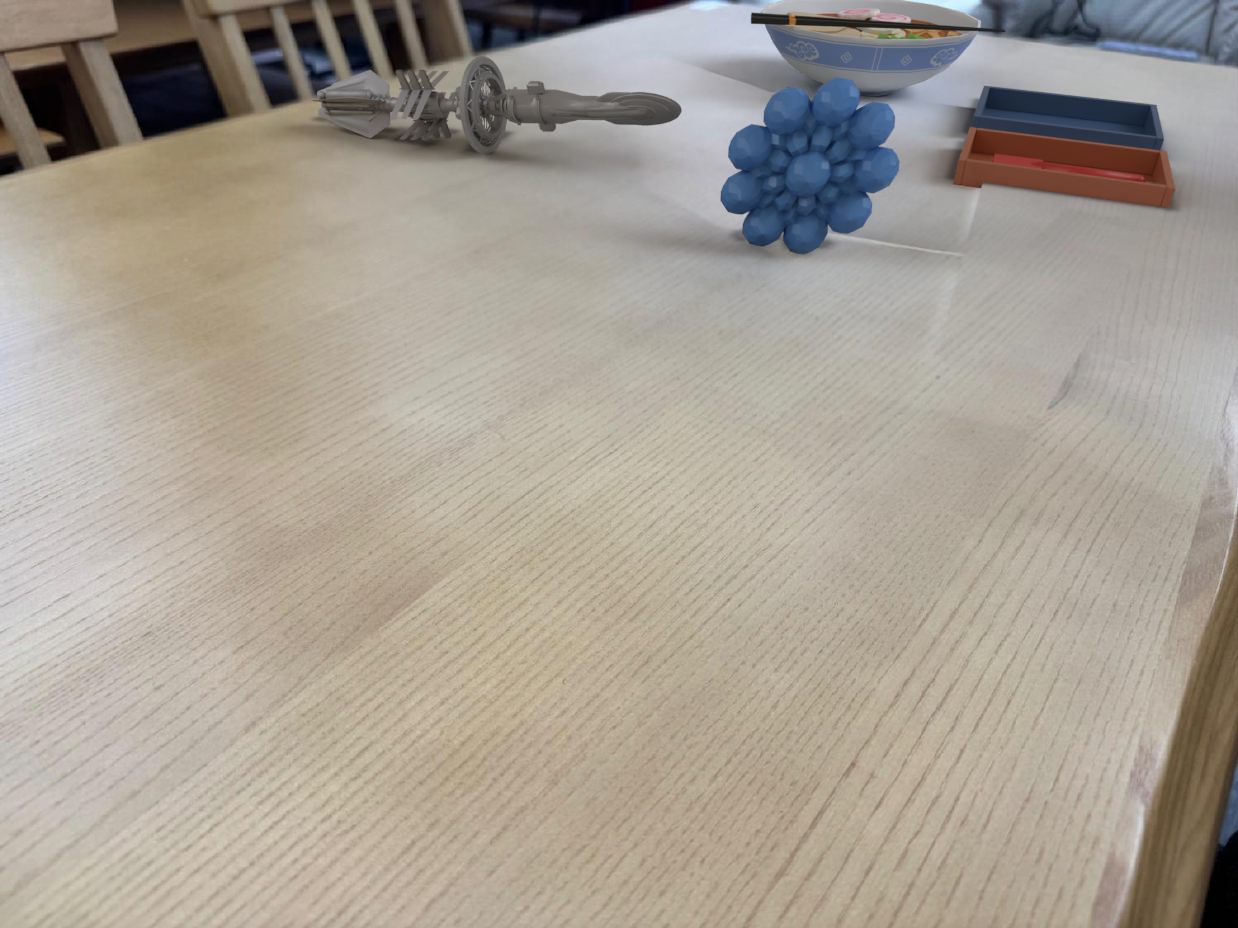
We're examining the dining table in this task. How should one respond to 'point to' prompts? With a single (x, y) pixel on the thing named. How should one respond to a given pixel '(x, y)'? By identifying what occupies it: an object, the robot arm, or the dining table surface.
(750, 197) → the blue beaded flower
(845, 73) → the ramen bowl
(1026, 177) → the terracotta tray
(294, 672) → the dining table surface
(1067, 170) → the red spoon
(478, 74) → the spaceship
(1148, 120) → the blue tray
